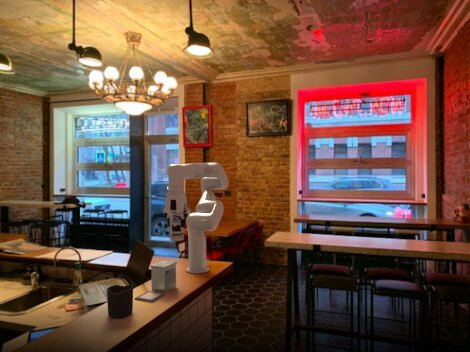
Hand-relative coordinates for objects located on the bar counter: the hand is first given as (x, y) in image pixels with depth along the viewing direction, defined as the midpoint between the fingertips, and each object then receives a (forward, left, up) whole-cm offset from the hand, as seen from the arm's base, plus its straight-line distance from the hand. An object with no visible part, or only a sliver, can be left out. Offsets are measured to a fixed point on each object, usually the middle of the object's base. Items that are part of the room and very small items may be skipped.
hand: (176, 226), depth 161 cm
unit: (+10, 0, -27) cm, 29 cm away
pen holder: (+39, +1, -28) cm, 48 cm away
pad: (+21, 0, -27) cm, 34 cm away
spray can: (0, 0, -7) cm, 7 cm away
